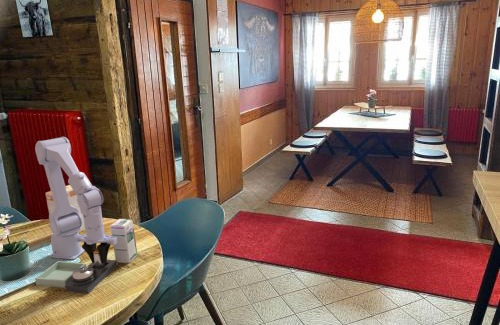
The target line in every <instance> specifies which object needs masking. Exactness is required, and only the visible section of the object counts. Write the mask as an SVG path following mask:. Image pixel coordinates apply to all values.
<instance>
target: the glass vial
mask: <svg viewBox="0 0 500 325" xmlns="http://www.w3.org/2000/svg"><path fill="white" fill-rule="evenodd" d="M93 256H94V263H95V269H103V268H104V267H105V263H104V264H102V262H101V258H100V254H99V251H98V249H97V247H96V248H95V249H93Z"/></svg>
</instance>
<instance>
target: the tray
mask: <svg viewBox="0 0 500 325" xmlns="http://www.w3.org/2000/svg"><path fill="white" fill-rule="evenodd" d="M81 267H87V264H86V263H83V262H74V261H73V262H71V261H62V260H60V261H58V260H57V262H55V263H53V264H52V265H51V266H50V267H48V268H46V270H44V271H43V272H41V273H40V274H39V275H37V276H36V277H35V278H34V281H35V285H36V286H42V287H50V288H51V287H52V288H61V289H65V285H66V284H67V283H68V282H70V281H71V280H72V273H73V271H75V270H76V269H78V268H81Z"/></svg>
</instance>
